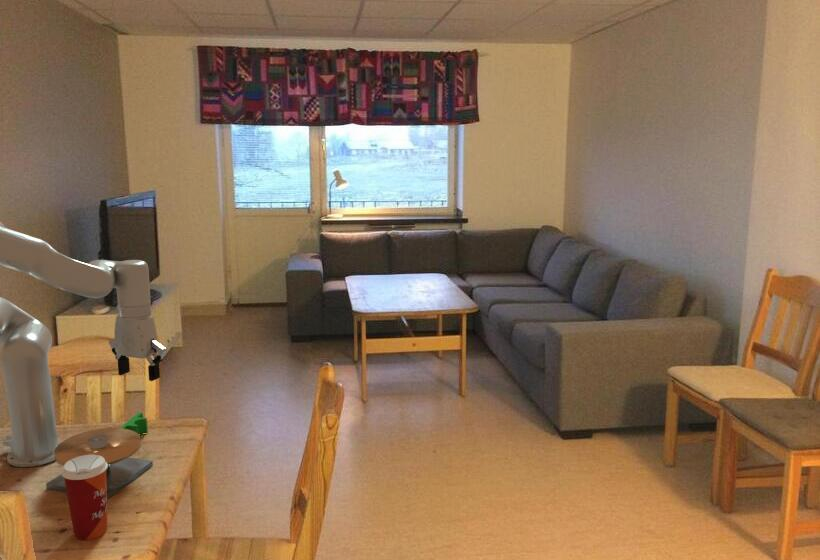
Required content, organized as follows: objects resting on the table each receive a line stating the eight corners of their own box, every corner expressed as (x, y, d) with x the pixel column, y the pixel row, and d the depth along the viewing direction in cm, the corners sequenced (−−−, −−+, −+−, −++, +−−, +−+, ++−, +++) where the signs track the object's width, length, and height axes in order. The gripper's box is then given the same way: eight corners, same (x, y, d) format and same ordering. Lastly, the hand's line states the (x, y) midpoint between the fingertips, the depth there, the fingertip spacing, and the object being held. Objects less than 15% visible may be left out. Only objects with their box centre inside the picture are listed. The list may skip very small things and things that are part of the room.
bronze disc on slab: (39, 490, 155) (34, 450, 153) (94, 454, 172) (91, 418, 170) (108, 502, 150) (105, 461, 148) (158, 464, 167) (156, 427, 165)
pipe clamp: (132, 447, 176) (130, 431, 175) (118, 447, 177) (116, 430, 176) (153, 428, 187) (151, 412, 186) (140, 428, 188) (138, 412, 187)
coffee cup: (112, 539, 137) (105, 469, 134) (65, 547, 134) (58, 475, 131) (114, 517, 145) (108, 450, 141) (70, 524, 142) (63, 456, 139)
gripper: (96, 310, 172) (101, 376, 175) (151, 318, 165) (156, 386, 169) (119, 303, 178) (123, 367, 182) (173, 311, 172) (177, 376, 176)
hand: (139, 376), depth 175 cm, fingers open, 9 cm apart
